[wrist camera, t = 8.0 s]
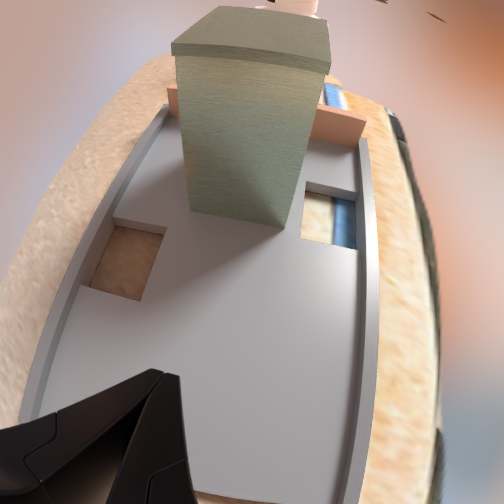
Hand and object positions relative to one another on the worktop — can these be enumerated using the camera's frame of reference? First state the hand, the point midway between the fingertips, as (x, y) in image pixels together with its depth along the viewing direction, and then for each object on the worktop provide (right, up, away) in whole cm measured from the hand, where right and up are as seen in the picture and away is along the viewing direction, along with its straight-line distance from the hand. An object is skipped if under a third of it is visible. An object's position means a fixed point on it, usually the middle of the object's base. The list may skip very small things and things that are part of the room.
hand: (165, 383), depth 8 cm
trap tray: (+1, +3, +11) cm, 11 cm away
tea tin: (+2, +9, +13) cm, 16 cm away
